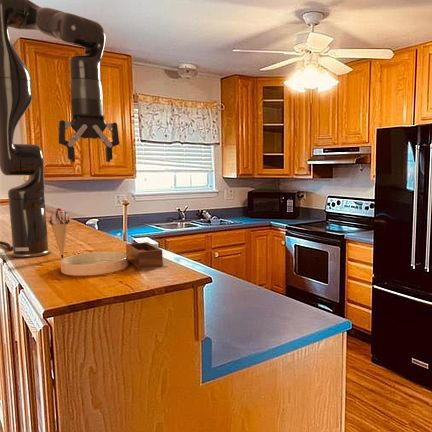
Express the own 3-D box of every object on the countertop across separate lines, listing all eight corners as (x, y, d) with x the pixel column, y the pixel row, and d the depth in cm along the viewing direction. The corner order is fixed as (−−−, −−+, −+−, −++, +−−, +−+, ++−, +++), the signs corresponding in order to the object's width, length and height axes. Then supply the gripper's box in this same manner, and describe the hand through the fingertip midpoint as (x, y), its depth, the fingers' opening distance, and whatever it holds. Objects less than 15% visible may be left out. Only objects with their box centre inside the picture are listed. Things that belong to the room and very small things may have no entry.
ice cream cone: (78, 258, 124) (74, 207, 122) (61, 262, 118) (58, 209, 117) (62, 257, 126) (59, 206, 124) (46, 261, 120) (42, 208, 118)
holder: (126, 260, 120) (125, 244, 120) (148, 258, 124) (147, 242, 123) (139, 270, 109) (138, 252, 109) (163, 267, 113) (162, 249, 112)
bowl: (57, 267, 114) (56, 256, 113) (120, 259, 123) (120, 249, 122) (65, 280, 100) (64, 268, 100) (135, 270, 109) (134, 259, 109)
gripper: (113, 102, 117) (116, 161, 119) (54, 98, 109) (58, 162, 111) (119, 99, 111) (122, 162, 113) (57, 94, 103) (62, 162, 105)
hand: (90, 161), depth 112 cm, fingers open, 8 cm apart
